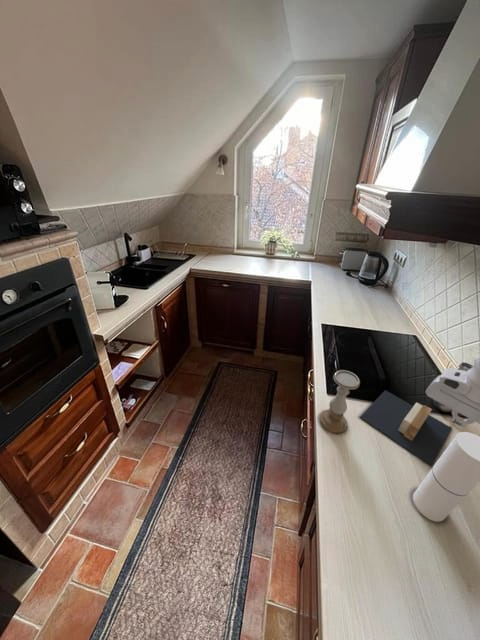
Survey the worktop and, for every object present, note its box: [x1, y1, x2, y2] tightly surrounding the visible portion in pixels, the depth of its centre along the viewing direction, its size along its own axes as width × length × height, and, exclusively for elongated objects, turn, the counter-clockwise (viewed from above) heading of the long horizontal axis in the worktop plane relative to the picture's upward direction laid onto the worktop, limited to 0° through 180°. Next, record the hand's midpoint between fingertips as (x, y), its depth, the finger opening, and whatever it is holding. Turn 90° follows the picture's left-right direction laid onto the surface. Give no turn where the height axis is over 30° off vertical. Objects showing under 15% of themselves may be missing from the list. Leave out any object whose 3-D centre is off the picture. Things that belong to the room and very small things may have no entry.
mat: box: [359, 389, 452, 467], centre depth 87 cm, size 22×20×1 cm
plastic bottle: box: [432, 361, 474, 413], centre depth 88 cm, size 6×7×20 cm
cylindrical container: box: [412, 431, 480, 523], centre depth 59 cm, size 7×7×25 cm
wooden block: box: [398, 402, 433, 441], centre depth 84 cm, size 4×12×6 cm, turn 130°
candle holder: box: [319, 369, 361, 434], centre depth 82 cm, size 9×9×20 cm
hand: (457, 423), depth 74 cm, fingers closed
